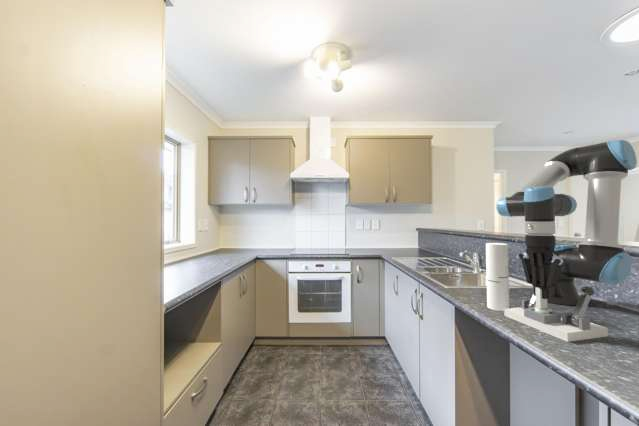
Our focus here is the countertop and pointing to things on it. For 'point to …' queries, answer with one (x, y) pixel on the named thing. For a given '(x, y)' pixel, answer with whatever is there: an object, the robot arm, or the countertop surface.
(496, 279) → the cylindrical container
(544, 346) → the countertop surface
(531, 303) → the lever
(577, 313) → the lever
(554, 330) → the panel
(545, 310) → the button
